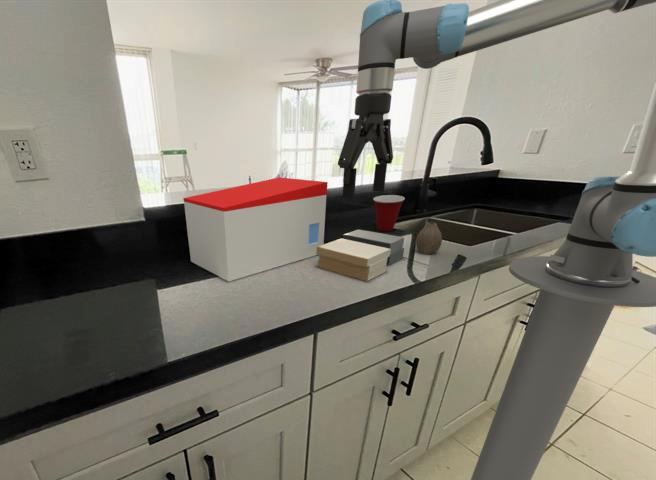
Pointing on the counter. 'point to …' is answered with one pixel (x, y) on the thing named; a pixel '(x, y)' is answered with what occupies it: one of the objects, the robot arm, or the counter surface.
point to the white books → (353, 268)
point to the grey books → (379, 242)
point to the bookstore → (256, 226)
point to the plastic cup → (387, 211)
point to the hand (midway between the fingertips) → (363, 194)
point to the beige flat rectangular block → (353, 252)
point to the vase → (429, 239)
